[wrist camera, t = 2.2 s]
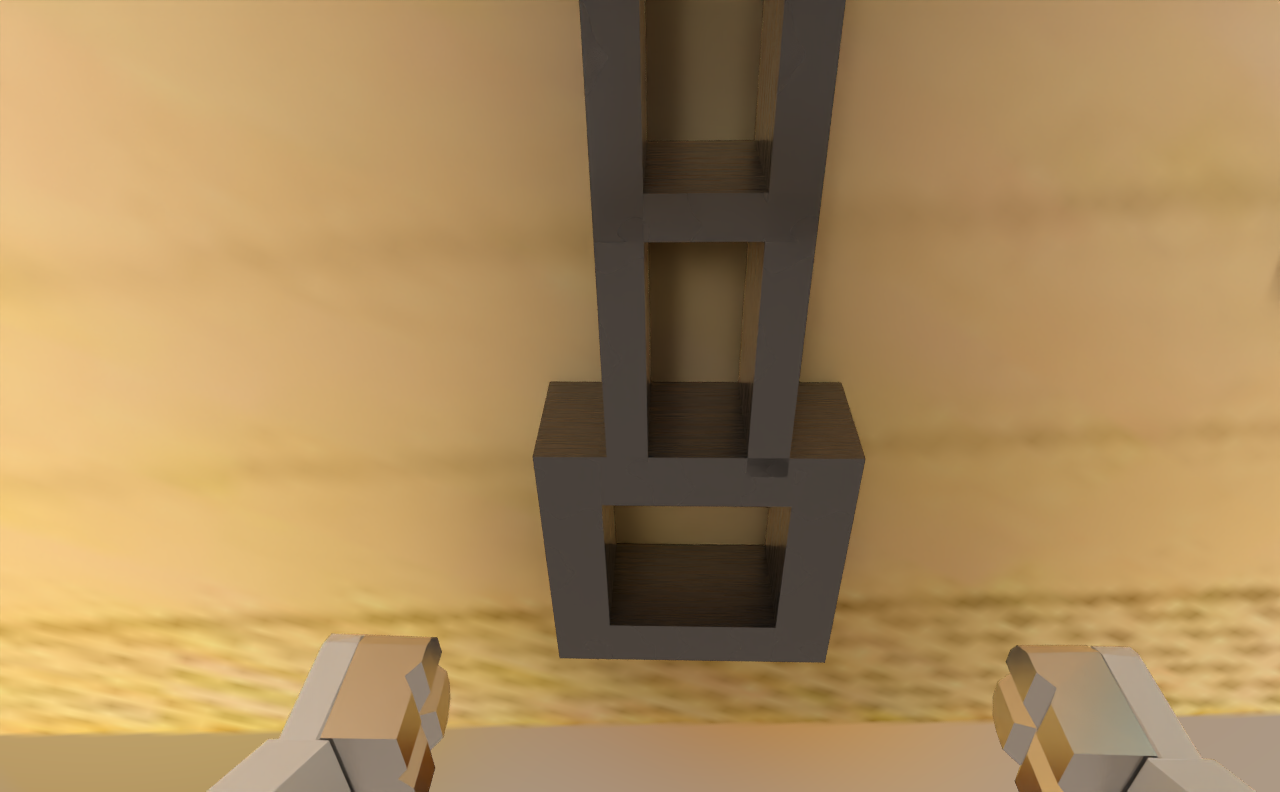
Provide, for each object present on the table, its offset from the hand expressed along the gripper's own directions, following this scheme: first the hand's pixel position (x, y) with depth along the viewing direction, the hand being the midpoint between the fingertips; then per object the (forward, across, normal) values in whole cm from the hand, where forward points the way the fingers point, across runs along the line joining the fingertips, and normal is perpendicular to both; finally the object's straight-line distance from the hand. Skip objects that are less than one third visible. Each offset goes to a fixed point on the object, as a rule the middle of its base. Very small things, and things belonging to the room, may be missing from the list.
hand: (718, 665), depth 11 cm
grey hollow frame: (+11, 0, 0) cm, 11 cm away
